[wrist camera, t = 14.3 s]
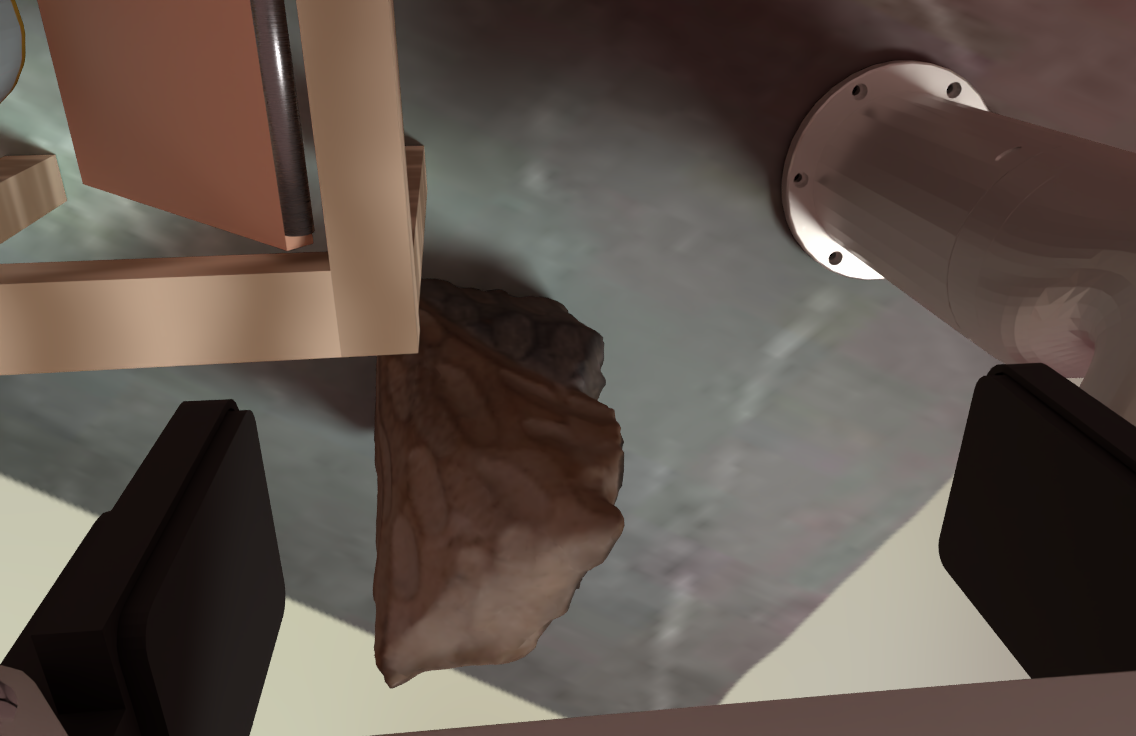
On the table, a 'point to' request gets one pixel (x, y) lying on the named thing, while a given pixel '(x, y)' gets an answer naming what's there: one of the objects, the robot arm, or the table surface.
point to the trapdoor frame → (257, 281)
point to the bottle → (10, 47)
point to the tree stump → (488, 479)
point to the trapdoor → (186, 109)
